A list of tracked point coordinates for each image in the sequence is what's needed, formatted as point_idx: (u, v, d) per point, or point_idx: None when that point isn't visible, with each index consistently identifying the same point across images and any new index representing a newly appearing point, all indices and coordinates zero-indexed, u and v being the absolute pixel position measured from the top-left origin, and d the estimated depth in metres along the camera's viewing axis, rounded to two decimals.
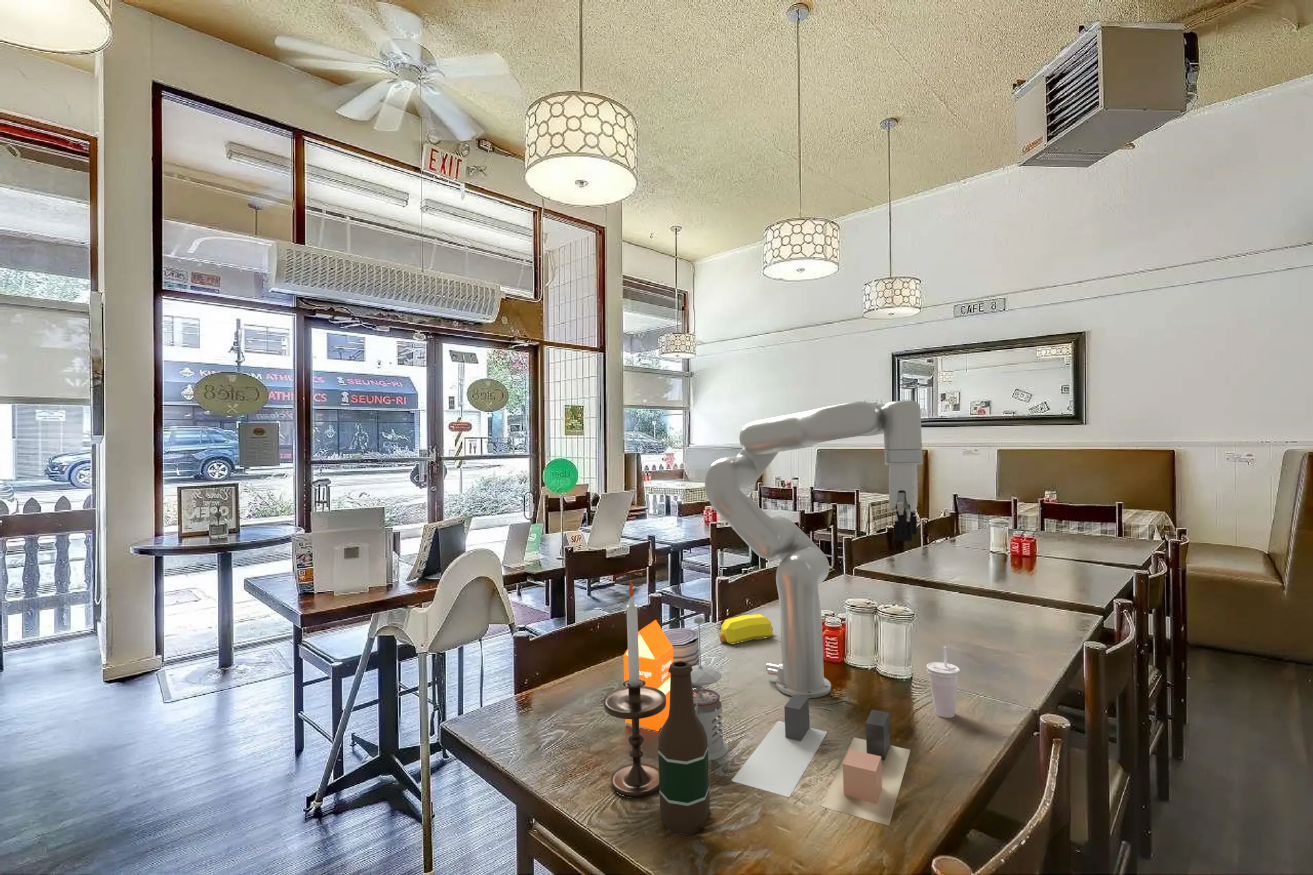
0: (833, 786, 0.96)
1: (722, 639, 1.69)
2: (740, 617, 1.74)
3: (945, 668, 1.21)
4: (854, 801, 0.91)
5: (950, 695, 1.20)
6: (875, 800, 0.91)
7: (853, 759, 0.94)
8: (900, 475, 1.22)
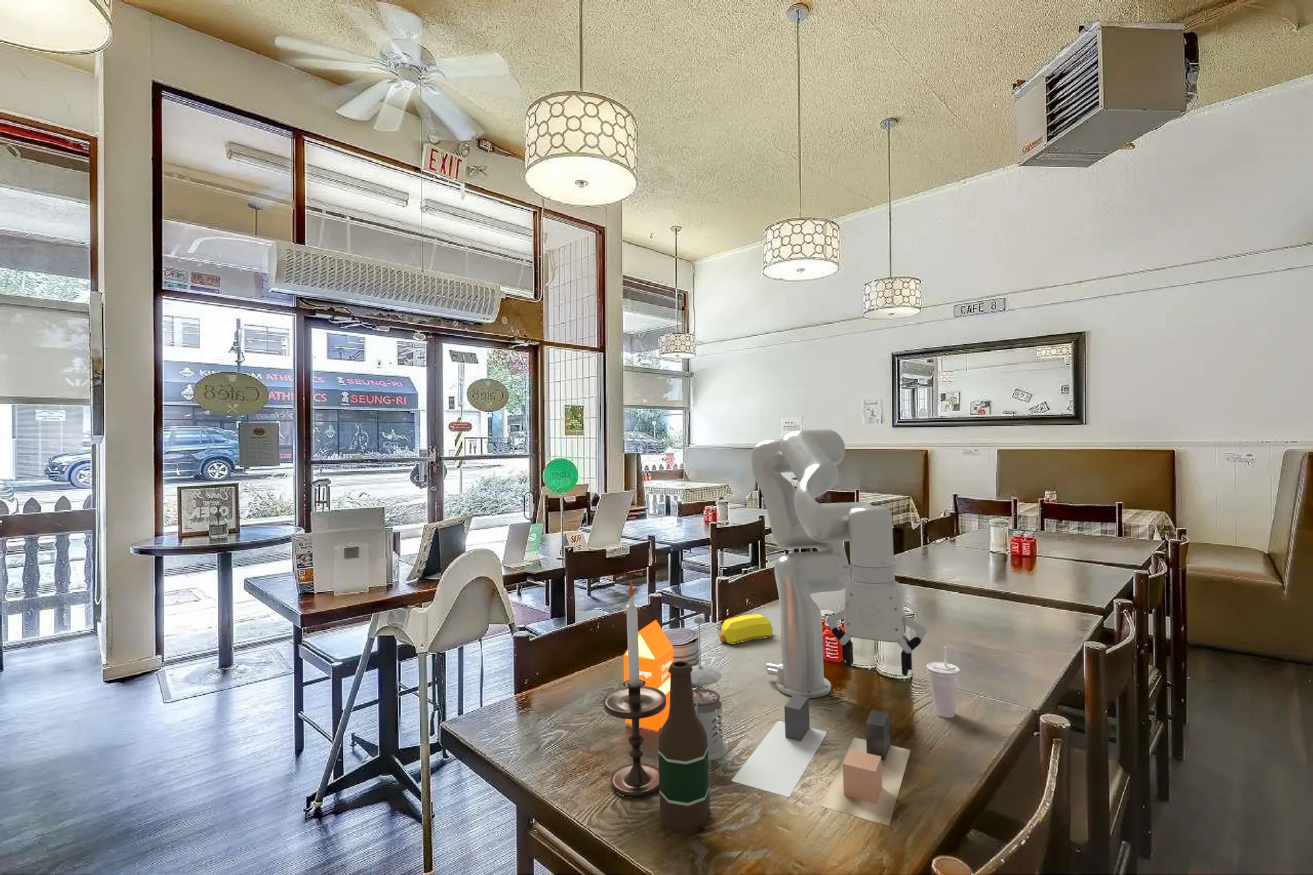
0: (833, 786, 0.96)
1: (722, 639, 1.69)
2: (740, 617, 1.74)
3: (945, 668, 1.21)
4: (854, 801, 0.91)
5: (950, 695, 1.20)
6: (875, 800, 0.91)
7: (853, 759, 0.94)
8: (901, 596, 1.04)
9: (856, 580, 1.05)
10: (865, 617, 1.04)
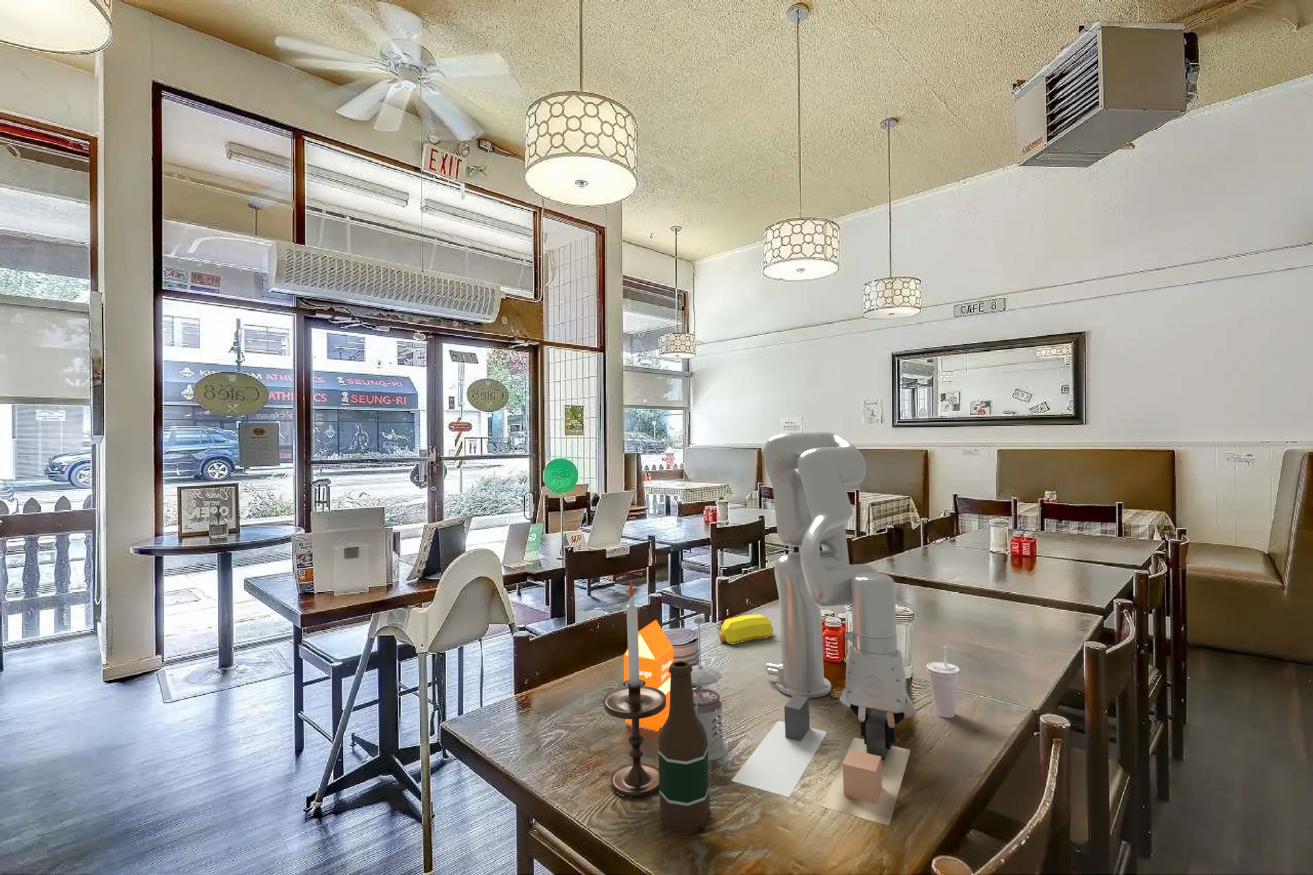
0: (833, 786, 0.96)
1: (722, 639, 1.70)
2: (740, 617, 1.74)
3: (945, 668, 1.21)
4: (854, 801, 0.91)
5: (950, 695, 1.20)
6: (875, 800, 0.91)
7: (853, 759, 0.94)
8: (903, 665, 1.04)
9: (858, 649, 1.05)
10: (867, 686, 1.05)
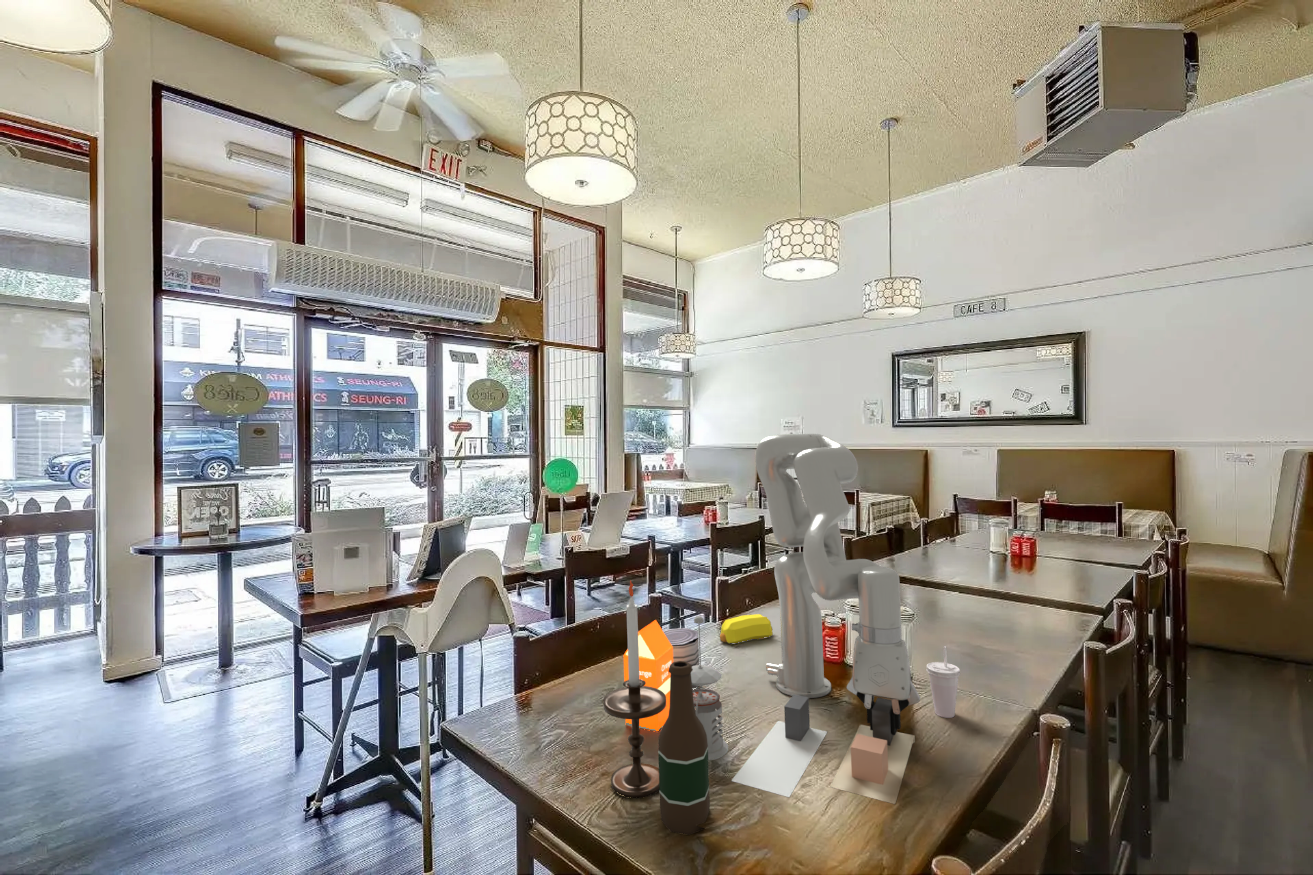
0: (841, 769, 1.01)
1: (722, 639, 1.69)
2: (740, 617, 1.74)
3: (945, 668, 1.21)
4: (861, 782, 0.96)
5: (950, 695, 1.20)
6: (882, 781, 0.96)
7: (861, 742, 0.99)
8: (907, 655, 1.09)
9: (865, 639, 1.10)
10: (873, 675, 1.10)
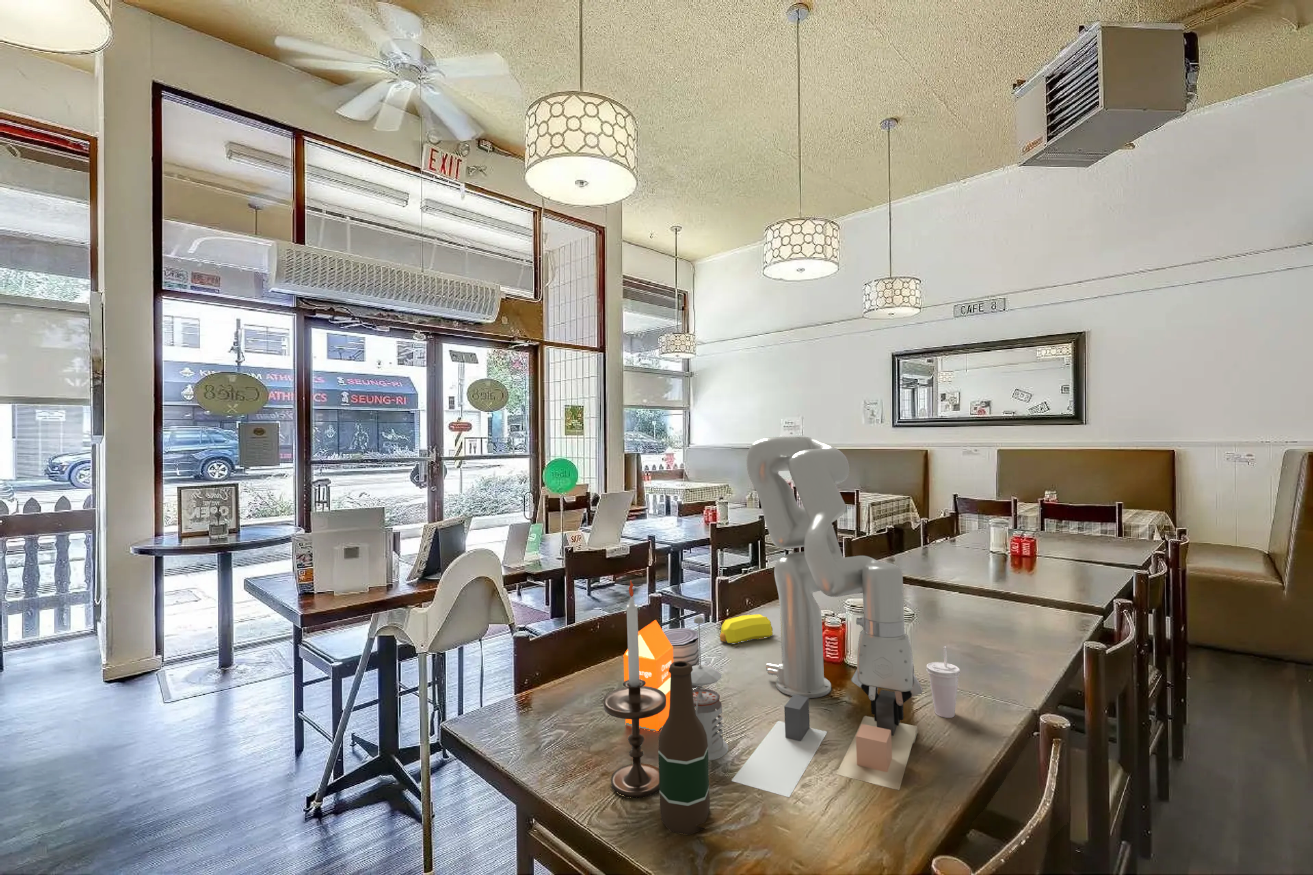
0: (847, 757, 1.04)
1: (722, 639, 1.69)
2: (740, 617, 1.74)
3: (945, 668, 1.21)
4: (866, 770, 1.00)
5: (950, 695, 1.20)
6: (886, 769, 0.99)
7: (865, 732, 1.03)
8: (910, 648, 1.12)
9: (869, 633, 1.14)
10: (877, 667, 1.13)
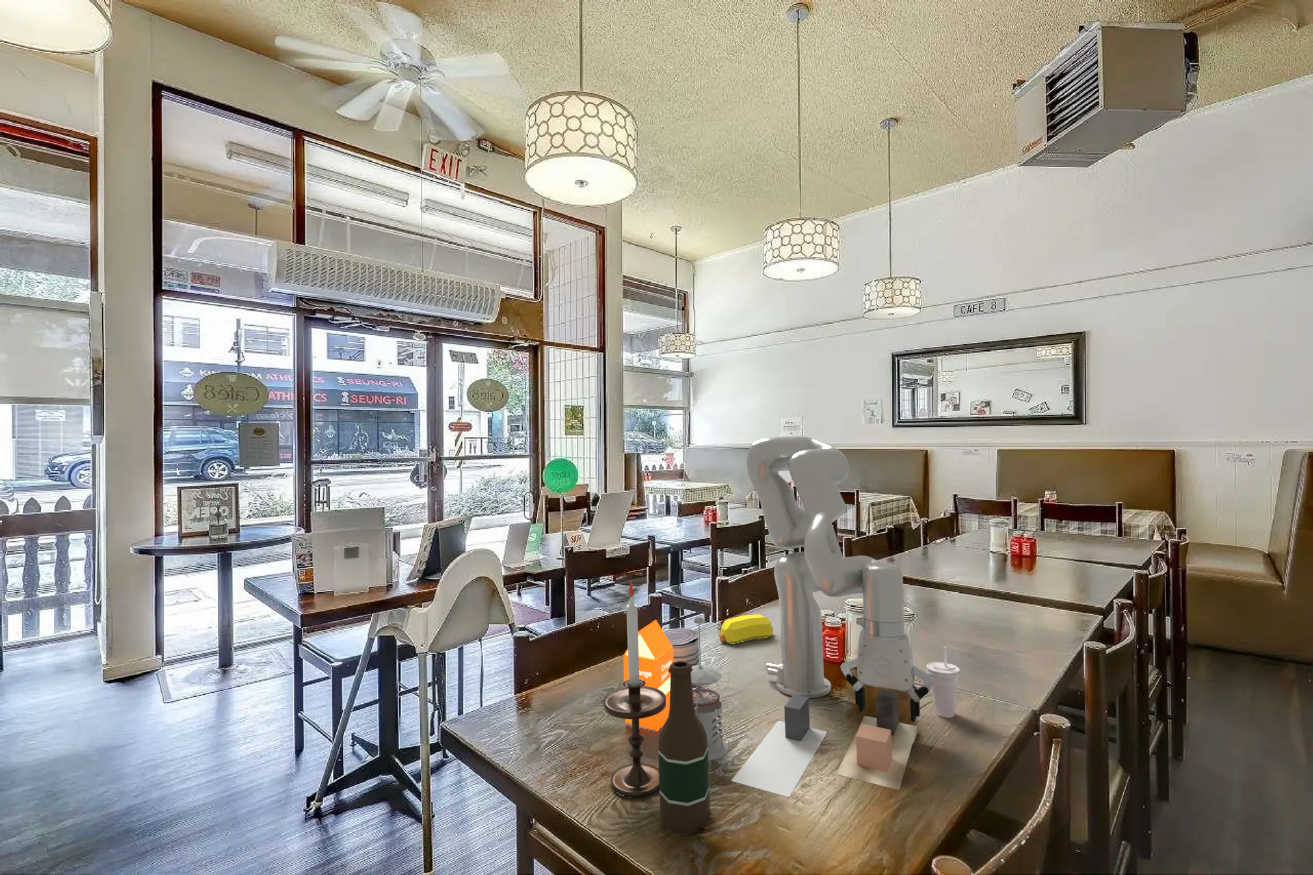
0: (847, 757, 1.04)
1: (722, 639, 1.69)
2: (740, 617, 1.74)
3: (945, 668, 1.21)
4: (866, 770, 1.00)
5: (950, 695, 1.20)
6: (886, 768, 0.99)
7: (865, 732, 1.03)
8: (910, 648, 1.12)
9: (869, 633, 1.14)
10: (877, 667, 1.13)
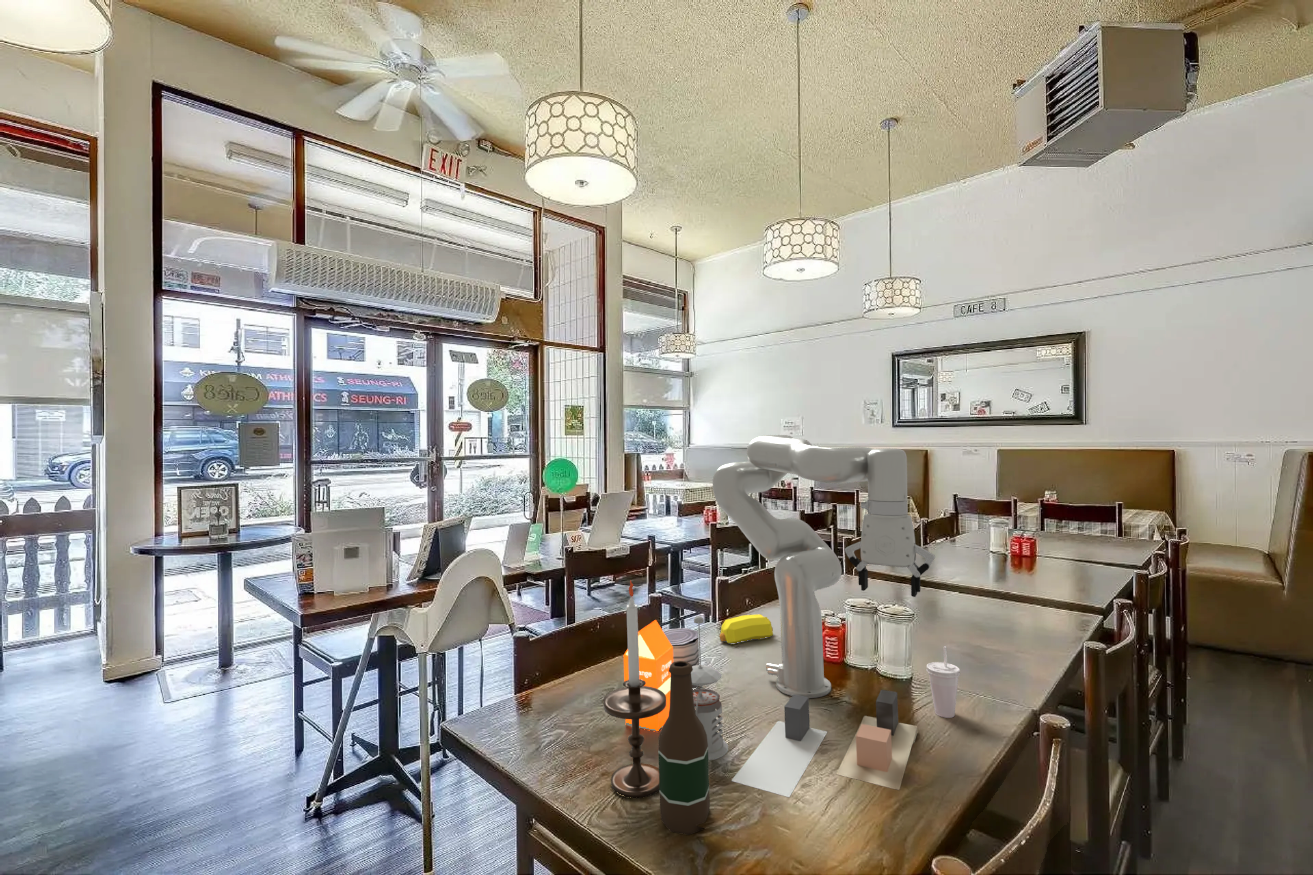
0: (847, 757, 1.04)
1: (722, 639, 1.69)
2: (740, 617, 1.74)
3: (945, 668, 1.21)
4: (866, 770, 1.00)
5: (950, 695, 1.20)
6: (886, 768, 0.99)
7: (865, 732, 1.03)
8: None
9: (873, 513, 1.18)
10: (880, 545, 1.18)
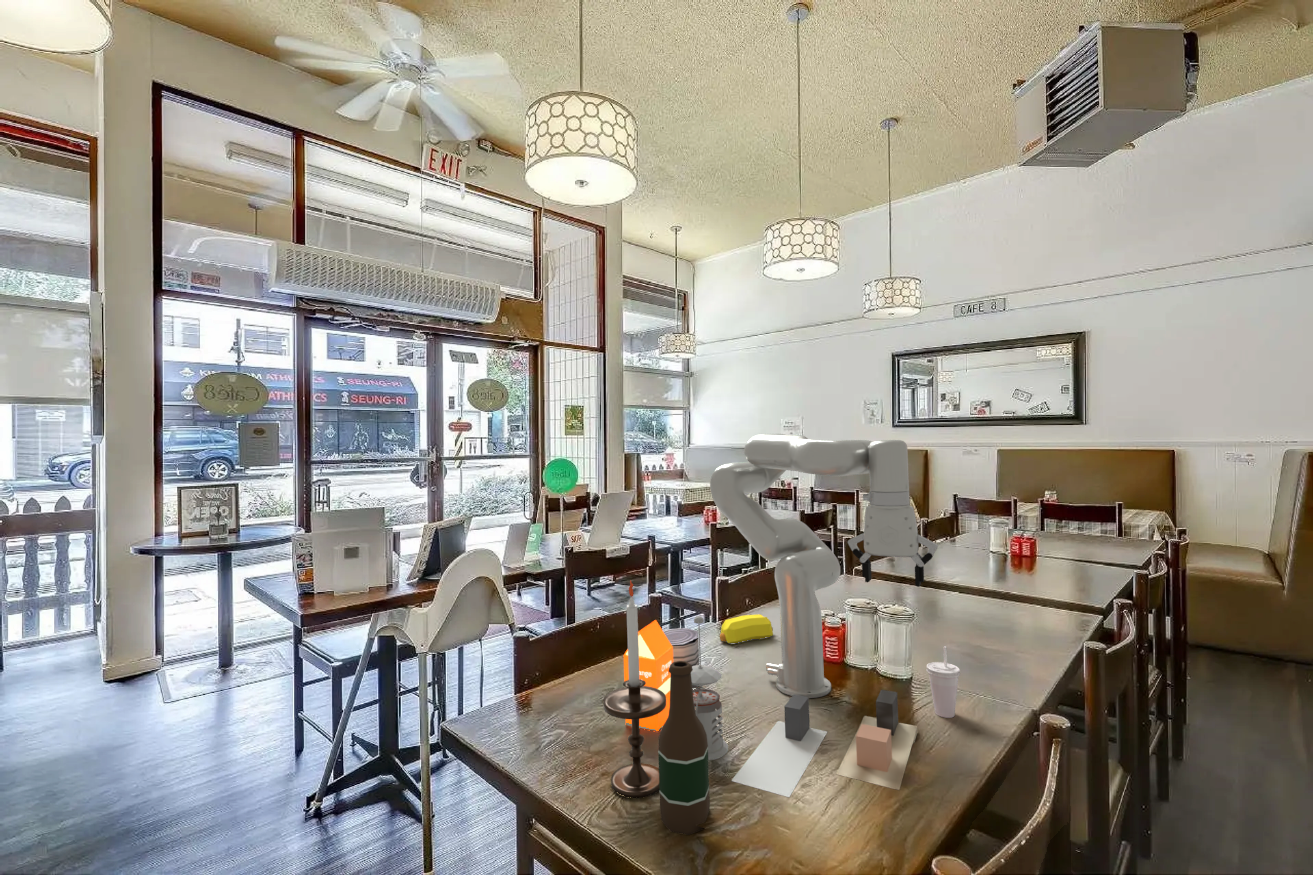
0: (847, 757, 1.04)
1: (722, 639, 1.69)
2: (740, 617, 1.74)
3: (945, 668, 1.21)
4: (866, 770, 1.00)
5: (950, 695, 1.20)
6: (886, 768, 0.99)
7: (865, 732, 1.03)
8: (915, 517, 1.18)
9: (875, 504, 1.19)
10: (883, 536, 1.18)
